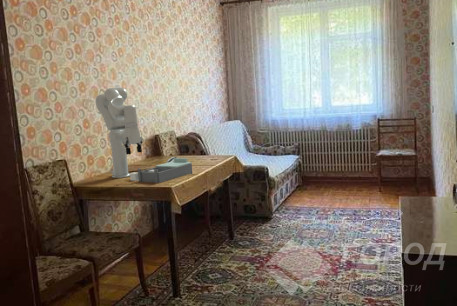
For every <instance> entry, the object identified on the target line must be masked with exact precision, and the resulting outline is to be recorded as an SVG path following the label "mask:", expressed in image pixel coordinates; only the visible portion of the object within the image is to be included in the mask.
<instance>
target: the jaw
mask: <svg viewBox="0 0 457 306" xmlns="http://www.w3.org/2000/svg"><path fill="white" fill-rule="evenodd" d="M129 173H130V176H129V178H130V181H131V182H132V181H133V182H134V181H135V182H136V181H139V179H138V171H137V172H135V171H134V172H129Z"/></svg>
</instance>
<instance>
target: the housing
mask: <svg viewBox="0 0 457 306" xmlns="http://www.w3.org/2000/svg"><path fill="white" fill-rule="evenodd" d="M149 170H154V172H148V171H149ZM157 170H158V171H157ZM137 172H138V179H139V180H138V183H155V184H160V183H164V182H167V181H169V180H173V179H177V178H180V177H182V176H186V175H193V164H192V163H191V164H188V165H184V166H181V167H177V168H170V167H156V166H155V167H152V168H148V169H144V170H142V169H141V168H137Z"/></svg>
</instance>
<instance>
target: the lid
mask: <svg viewBox="0 0 457 306" xmlns="http://www.w3.org/2000/svg"><path fill="white" fill-rule="evenodd" d="M188 164H192V161H188V158H187V157H186V158H185V157H177V158H174V162H168V163H166V162H165V163H161V164H157V165H155V167H170V168H177V167H181V166H184V165H188Z"/></svg>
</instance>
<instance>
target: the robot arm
mask: <svg viewBox="0 0 457 306" xmlns="http://www.w3.org/2000/svg"><path fill="white" fill-rule="evenodd" d="M127 99H128V92H127V90H126V89H125V88H124V87H110V88H107V89H106V90H104V93H102V94H98V95H97V96H96V97H95V105H96V109H97V110H98V112H99V114H101V116H102V118H103V121H104V123H105V126H106V128H107V130H108V131H109V133H108V139H109V144H110V148H111V150H110V151H111V157H112V167H113V168H112V170H111V171H110V173H111V174H112V175H111V178H113V179H116V178H117V179H121V178H127V177H130V173H131V172H129V166H128V155H131V154H132V152H131V151H132V150H131V145H136V151H137V153H142V152H143V150H142V145H143V143H144V138H143V137H141V133H140V129H139V126H138V125H139V123H138V118H137V116H138V115H137V114H138V113H137V107H136V105H135V104H130V105H129V104H128V105H124V102H125V101H126V100H127Z"/></svg>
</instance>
